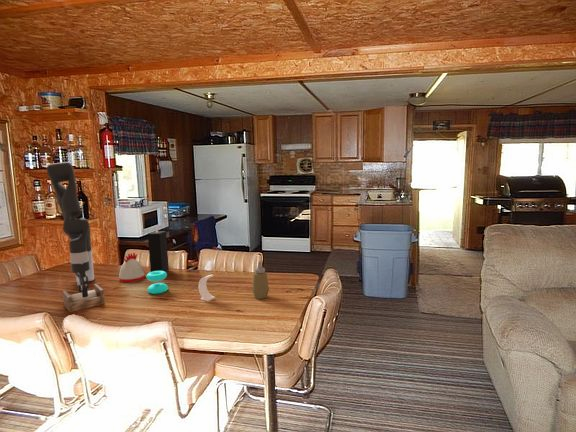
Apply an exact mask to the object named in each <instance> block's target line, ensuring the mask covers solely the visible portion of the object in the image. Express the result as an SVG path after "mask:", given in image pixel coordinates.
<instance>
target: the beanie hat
mask: <svg viewBox="0 0 576 432" xmlns="http://www.w3.org/2000/svg"><path fill="white" fill-rule="evenodd" d="M137 256H138V253H135V252H133V253H132V252H130V253H128V255H126V256H125V258H123V261H124V262H123V264H121V267H120V270H119V275H118V280H119V282H122V283H133V282H139V281H141V280H143V279H146V275H145V274H146V273H145V271H144V268H143V266H142V264H141V263H140V262H139V260H137Z"/></svg>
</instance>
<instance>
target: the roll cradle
mask: <svg viewBox="0 0 576 432" xmlns="http://www.w3.org/2000/svg"><path fill="white" fill-rule="evenodd" d="M93 290H95V291H96V293H97V297H94V298H90V299H86V300H81V301H77V302H73V303H72V301H71V294H69V292H67V290H62V296H63V297H62V299H63V306H64V308H65V309H66V310H67V311H68V312H69V313H72V312H77V311H80V310H85V309H88V308H93V307H96V306H100V305H105V293H104V288H102V287H101V286H100V285H98V283H93Z"/></svg>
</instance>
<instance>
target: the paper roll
mask: <svg viewBox="0 0 576 432" xmlns="http://www.w3.org/2000/svg"><path fill="white" fill-rule="evenodd" d="M87 291H88V297H84V298H83V297H82V292H81V293H79V292H78V293H73V294H70V296H71V301H72V303H73V302H77V301H81V300H86V299H90V298H94V297H97V293H96V291H95V290H94V289H92V290H87Z"/></svg>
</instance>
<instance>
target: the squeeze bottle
mask: <svg viewBox="0 0 576 432" xmlns="http://www.w3.org/2000/svg"><path fill="white" fill-rule="evenodd" d="M254 271H255V272H254V273H253V274H252V294H253V296H254V298H255V299H256V300H263V299H264V300H265V299H267V297H268V294H269V291H270V286H269V281H268V280H269V279H268V273H267V272H266V268H264V267H263V264H262V261H261V260H258V262H257V267H256V268H255V269H254Z"/></svg>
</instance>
